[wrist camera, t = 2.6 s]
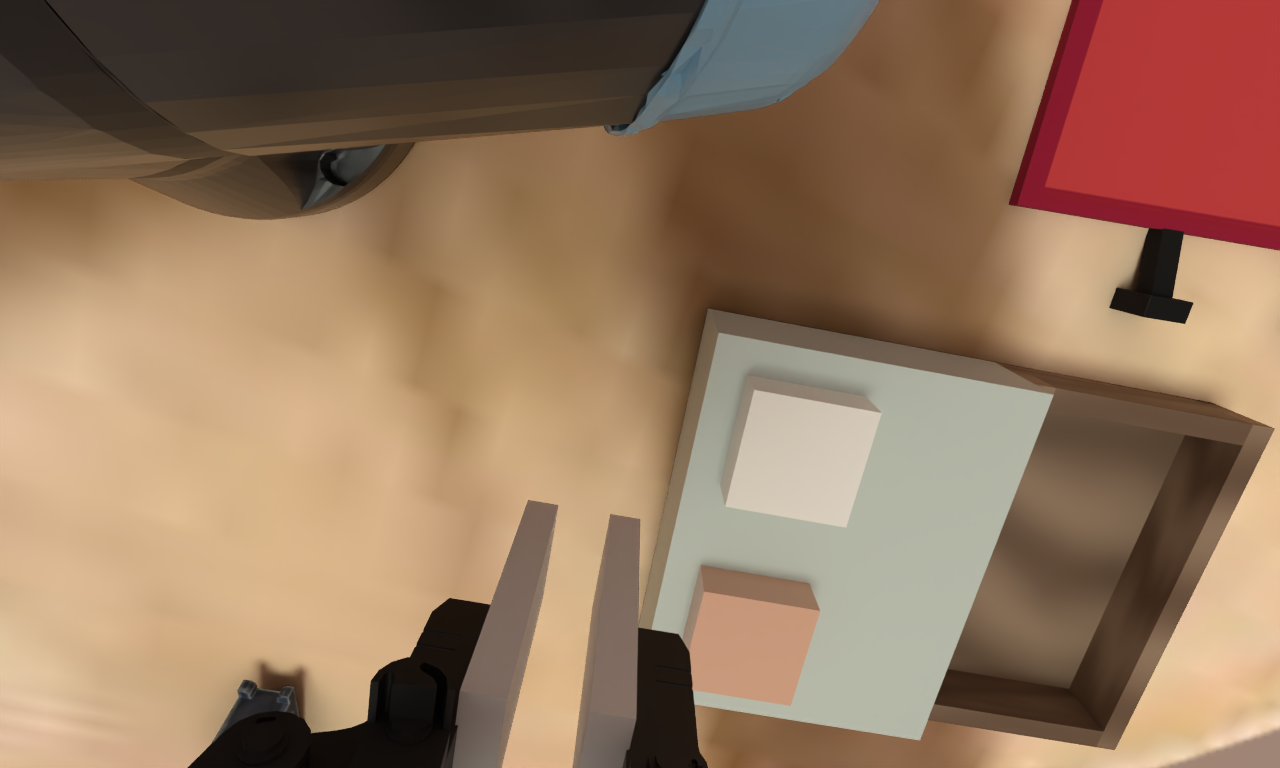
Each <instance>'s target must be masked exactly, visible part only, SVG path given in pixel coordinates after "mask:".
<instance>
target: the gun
mask: <svg viewBox="0 0 1280 768" xmlns="http://www.w3.org/2000/svg"><path fill="white" fill-rule="evenodd" d="M237 691H238V695H239V698H238V700H237V701H236V703H235V705H234V707H233V708H232V710H231V712H230V713H229V715H228V717H227V718H226V720H225V722H224V723H223V725H222V727H221V728H220V730H219V732H218V734H217V735H216V737H215V739H214V740H213V742H214V741H215V740H216V739H217V738H218V737H219V736H220V735H221V734H222V733H223V732H224V731H226V730H227V729H228V728H230V727H231V726H232V725H234V724H235V723H237V722H238V721H239V720H242V719H244V718H247V717H249V716H252V715H254V714H257V713H263V712H270V711H281V712H289V713H293V714H295V715H297V716H298V717H299V711H298V706H297V700H296V695H295V689H294V687H290V686H286V687H283V688H282V690H281V691H274V690H267V689H260V688H257V685H256V683H254V682H252V681H248V680H243V682H242V684H241V685H240V687H239V689H238V690H237ZM213 742H212V743H213Z"/></svg>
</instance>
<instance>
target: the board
mask: <svg viewBox="0 0 1280 768" xmlns="http://www.w3.org/2000/svg"><path fill="white" fill-rule="evenodd" d="M747 375H751V376H756V377H762V378H767V379H773V380H778V381H784V382H789V383H795V384H800V385H806V386H811V387H817V388H822V389H827V390H833V391H838V392H844V393H849V394H855V395H860V396H866V397H867V398H868V399H869V400H870V401H871V402H872V403H873V404H874V405H875V406H876V407H877V409H878V410H879V411H880V412H881V413H882V414H881V417H880V421H879V424H878V427H877V430H876V434H875V437H874V440H873V443H872V446H871V450H870V453H869V456H868V459H867V462H866V466H865V469H864V472H863V475H862V479H861V482H860V485H859V488H858V491H857V495H856V498H855V501H854V504H853V507H852V511H851V514H850V517H849V520H848V524H847V527H846V528H845V527H839V526H834V525H828V524H822V523H816V522H811V521H805V520H799V519H793V518H788V517H782V516H776V515H770V514H765V513H759V512H753V511H747V510H741V509H736V508H730V507H725V504H724V500H723V495H722V491H721V487H720V483H721V479H722V474H723V470H724V466H725V462H726V458H727V454H728V450H729V446H730V442H731V438H732V433H733V429H734V425H735V421H736V417H737V413H738V409H739V405H740V401H741V397H742V392H743V388H744V384H745V380H746V376H747ZM1053 396H1054V395H1053V394H1051V393H1050V392H1048V391H1046V390H1044V389H1042V388H1041V387H1039V386H1037V385H1035V384H1033V383H1031V382H1030V381H1028V380H1026V379H1024V378H1022V377H1021V376H1019V375H1017V374H1015V373H1013V372H1011V371H1010V370H1008V369H1006V368H1004V367H1002V366H1001V365H999V364H997V363H995V362H991V361H986V360H981V359H975V358H970V357H965V356H959V355H954V354H948V353H943V352H938V351H932V350H927V349H922V348H916V347H911V346H906V345H900V344H895V343H890V342H884V341H879V340H874V339H868V338H863V337H858V336H852V335H847V334H842V333H836V332H831V331H826V330H820V329H815V328H810V327H804V326H799V325H794V324H788V323H783V322H778V321H772V320H767V319H761V318H756V317H751V316H745V315H740V314H735V313H729V312H724V311H719V310H713V309H708V311H707V315H706V320H705V325H704V329H703V334H702V338H701V343H700V347H699V352H698V356H697V361H696V366H695V370H694V375H693V379H692V384H691V388H690V393H689V397H688V402H687V407H686V411H685V416H684V420H683V425H682V429H681V434H680V438H679V443H678V448H677V452H676V457H675V461H674V466H673V470H672V475H671V480H670V484H669V489H668V493H667V498H666V502H665V507H664V511H663V516H662V521H661V525H660V530H659V534H658V539H657V543H656V548H655V552H654V557H653V562H652V566H651V571H650V575H649V580H648V584H647V589H646V593H645V598H644V603H643V607H642V612H641V616H640V621H639V625H638V627H639V628H645V629H651V630H657V631H663V632H669V633H675V634H679V635H680V637H681V639H682V638H683V634H684V630H685V626H686V622H687V618H688V614H689V610H690V606H691V602H692V597H693V593H694V589H695V585H696V581H697V577H698V573H699V569H700V565H703V566H709V567H715V568H721V569H727V570H733V571H738V572H744V573H750V574H756V575H762V576H768V577H774V578H780V579H786V580H792V581H797V582H803V583H809V584H810V586H811V589H812V591H813V594H814V596H815V599H816V601H817V604H818V606H819V609H820V614H819V617H818V620H817V623H816V626H815V630H814V633H813V636H812V639H811V642H810V646H809V649H808V652H807V655H806V658H805V662H804V665H803V668H802V671H801V675H800V678H799V681H798V684H797V687H796V691H795V694H794V697H793V700H792V703H791V706H788V705H782V704H776V703H770V702H763V701H757V700H751V699H745V698H739V697H732V696H726V695H720V694H714V693H707V692H701V691H695V690H693V694H694V704H695V705H702V706H708V707H714V708H720V709H727V710H733V711H739V712H745V713H752V714H758V715H764V716H771V717H777V718H783V719H789V720H796V721H802V722H808V723H814V724H821V725H827V726H833V727H839V728H846V729H852V730H858V731H864V732H871V733H877V734H883V735H889V736H896V737H902V738H908V739H915V740H920V738H921V736H922V733H923V731H924V728H925V726H926V723H927V720H928V718H929V715H930V713H931V710H932V708H933V705H934V702H935V700H936V697H937V695H938V692H939V689H940V687H941V684H942V682H943V679H944V677H945V674H946V671H947V669H948V666H949V664H950V661H951V659H952V656H953V653H954V651H955V648H956V646H957V643H958V640H959V638H960V635H961V633H962V630H963V628H964V625H965V622H966V620H967V617H968V615H969V612H970V610H971V607H972V604H973V602H974V599H975V597H976V594H977V592H978V589H979V586H980V584H981V581H982V579H983V576H984V573H985V571H986V568H987V566H988V563H989V561H990V558H991V555H992V553H993V550H994V548H995V545H996V543H997V540H998V537H999V535H1000V532H1001V530H1002V527H1003V525H1004V522H1005V519H1006V517H1007V514H1008V512H1009V509H1010V506H1011V504H1012V501H1013V499H1014V496H1015V494H1016V491H1017V488H1018V486H1019V483H1020V481H1021V478H1022V476H1023V473H1024V470H1025V468H1026V465H1027V463H1028V460H1029V458H1030V455H1031V452H1032V450H1033V447H1034V445H1035V442H1036V439H1037V437H1038V434H1039V432H1040V429H1041V427H1042V424H1043V421H1044V419H1045V416H1046V414H1047V411H1048V409H1049V406H1050V403H1051V401H1052V398H1053Z"/></svg>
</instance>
